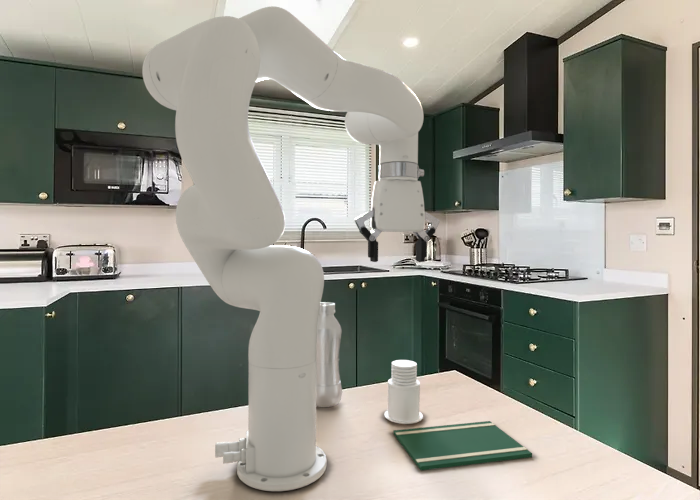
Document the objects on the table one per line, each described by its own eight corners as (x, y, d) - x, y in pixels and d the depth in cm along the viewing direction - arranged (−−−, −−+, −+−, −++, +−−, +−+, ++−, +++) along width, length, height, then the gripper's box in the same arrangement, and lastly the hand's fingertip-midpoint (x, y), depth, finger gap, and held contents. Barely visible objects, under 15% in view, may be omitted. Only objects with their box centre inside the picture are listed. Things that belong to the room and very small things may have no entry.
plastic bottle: (338, 412, 83) (338, 306, 82) (303, 409, 84) (304, 305, 84) (345, 400, 89) (346, 301, 89) (313, 397, 90) (313, 300, 90)
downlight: (426, 426, 77) (426, 370, 77) (386, 426, 77) (386, 369, 77) (419, 409, 85) (420, 357, 85) (382, 408, 85) (383, 357, 85)
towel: (420, 470, 62) (420, 465, 62) (393, 433, 74) (393, 429, 74) (532, 457, 66) (532, 452, 66) (489, 424, 78) (489, 420, 78)
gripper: (431, 178, 92) (430, 260, 93) (351, 175, 88) (350, 260, 89) (447, 173, 85) (446, 262, 85) (360, 169, 81) (359, 262, 81)
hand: (397, 261), depth 87 cm, fingers open, 9 cm apart
